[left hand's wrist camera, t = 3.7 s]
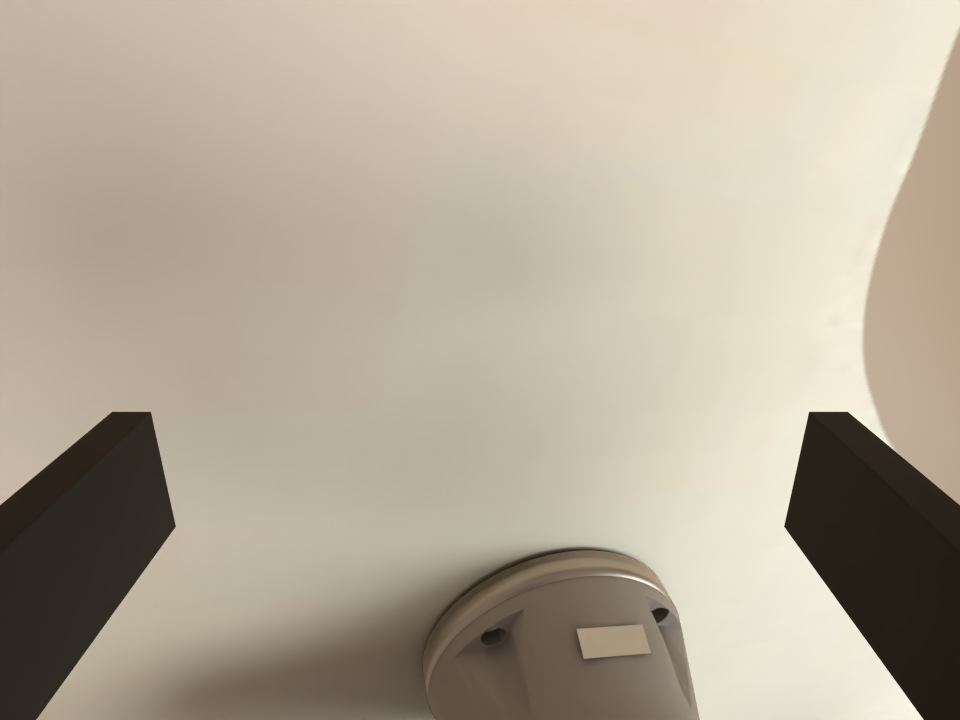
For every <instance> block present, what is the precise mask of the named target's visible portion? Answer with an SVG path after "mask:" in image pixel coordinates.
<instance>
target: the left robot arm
mask: <svg viewBox="0 0 960 720" xmlns="http://www.w3.org/2000/svg"><path fill="white" fill-rule="evenodd" d="M175 527H176V526H175V521H174V517H173V512H172V508H171V503H170V498H169V494H168V489H167V485H166V480H165V475H164V471H163V466H162V462H161V457H160V452H159V448H158V443H157V439H156V434H155V429H154V425H153V420H152V416H151V412H112V413H110V414H109V415H108V416H107V417H106V418H104V419H103V420H102V421H101V422H100V423H98V424H97V425H96V426H95V427H94V428H92V429H91V430H90V431H89V432H88V433H86V434H85V435H84V436H83V437H82V438H81V439H79V440H78V441H77V442H76V443H75V444H73V445H72V446H71V447H70V448H69V449H67V450H66V451H65V452H64V453H63V454H61V455H60V456H59V457H58V458H57V459H55V460H54V461H53V462H52V463H51V464H49V465H48V466H47V467H46V468H45V469H43V470H42V471H41V472H40V473H39V474H37V475H36V476H35V477H34V478H33V479H31V480H30V481H29V482H28V483H27V484H25V485H24V486H23V487H22V488H21V489H19V490H18V491H17V492H16V493H15V494H13V495H12V496H11V497H10V498H9V499H7V500H6V501H5V502H4V503H3V504H1V505H0V720H36V719H37V718H38V716H39V715H40V714H41V712H42V711H43V710H44V708H45V707H46V705H47V704H48V703H49V701H50V700H51V698H52V697H53V696H54V694H55V693H56V692H57V690H58V689H59V687H60V686H61V685H62V683H63V682H64V680H65V679H66V678H67V676H68V675H69V674H70V672H71V671H72V669H73V668H74V667H75V665H76V664H77V662H78V661H79V660H80V658H81V657H82V656H83V654H84V653H85V651H86V650H87V649H88V647H89V646H90V644H91V643H92V642H93V640H94V639H95V638H96V636H97V635H98V633H99V632H100V631H101V629H102V628H103V626H104V625H105V624H106V622H107V621H108V620H109V618H110V617H111V615H112V614H113V613H114V611H115V610H116V609H117V607H118V606H119V604H120V603H121V602H122V600H123V599H124V597H125V596H126V595H127V593H128V592H129V591H130V589H131V588H132V586H133V585H134V584H135V582H136V581H137V579H138V578H139V577H140V575H141V574H142V573H143V571H144V570H145V568H146V567H147V566H148V564H149V563H150V561H151V560H152V559H153V557H154V556H155V555H156V553H157V552H158V550H159V549H160V548H161V546H162V545H163V543H164V542H165V541H166V539H167V538H168V537H169V535H170V534H171V532H172V531H173V530H174V528H175ZM784 527H785V528H786V530H787V531H788V532H789V534H790V535H791V537H792V538H793V539H794V541H795V542H796V543H797V545H798V546H799V548H800V549H801V550H802V552H803V553H804V555H805V556H806V557H807V559H808V560H809V561H810V563H811V564H812V566H813V567H814V568H815V570H816V571H817V573H818V574H819V575H820V577H821V578H822V579H823V581H824V582H825V584H826V585H827V586H828V588H829V589H830V591H831V592H832V593H833V595H834V596H835V597H836V599H837V600H838V602H839V603H840V604H841V606H842V607H843V609H844V610H845V611H846V613H847V614H848V615H849V617H850V618H851V620H852V621H853V622H854V624H855V625H856V626H857V628H858V629H859V631H860V632H861V633H862V635H863V636H864V638H865V639H866V640H867V642H868V643H869V644H870V646H871V647H872V649H873V650H874V651H875V653H876V654H877V656H878V657H879V658H880V660H881V661H882V662H883V664H884V665H885V667H886V668H887V669H888V671H889V672H890V674H891V675H892V676H893V678H894V679H895V680H896V682H897V683H898V685H899V686H900V687H901V689H902V690H903V692H904V693H905V694H906V696H907V697H908V698H909V700H910V701H911V703H912V704H913V705H914V707H915V708H916V710H917V711H918V712H919V714H920V715H921V716H922V718H923V719H924V720H960V505H959V504H957V503H956V502H955V501H954V500H953V499H951V498H950V497H949V496H948V495H947V494H945V493H944V492H943V491H942V490H941V489H939V488H938V487H937V486H936V485H935V484H933V483H932V482H931V481H930V480H929V479H927V478H926V477H925V476H924V475H923V474H921V473H920V472H919V471H918V470H917V469H915V468H914V467H913V466H912V465H911V464H909V463H908V462H907V461H906V460H905V459H903V458H902V457H901V456H900V455H899V454H897V453H896V452H895V451H894V450H893V449H891V448H890V447H889V446H888V445H887V444H885V443H884V442H883V441H882V440H881V439H879V438H878V437H877V436H876V435H875V434H874V433H872V432H871V431H870V430H869V429H868V428H866V427H865V426H864V425H863V424H862V423H860V422H859V421H858V420H857V419H856V418H854V417H853V416H852V415H851V414H850V413H848V412H809V416H808V420H807V425H806V429H805V434H804V439H803V443H802V448H801V452H800V457H799V462H798V466H797V471H796V475H795V480H794V485H793V489H792V494H791V498H790V503H789V508H788V512H787V517H786V521H785V526H784ZM423 673H424V680H425V686H426V692H427V699H428V703H429V706H430V709H431V711H432V713H433V715H434V717H435V719H436V720H700V719H699V714H698V709H697V704H696V699H695V694H694V689H693V684H692V679H691V674H690V669H689V664H688V659H687V654H686V649H685V644H684V639H683V634H682V629H681V624H680V620H679V616H678V612H677V610H676V608H675V606H674V604H673V602H672V600H671V599H670V597H669V595H668V593H667V592H666V590H665V588H664V586H663V585H662V583H661V581H660V580H659V578H658V577H657V576H656V575H655V573H654V572H653V571H652V570H651V569H649V568H648V567H647V566H646V565H644V564H642V563H641V562H639V561H637V560H635V559H632V558H630V557H627V556H624V555H621V554H617V553H612V552H605V551H591V550H583V551H569V552H562V553H556V554H551V555H546V556H542V557H539V558H535V559H532V560H529V561H526V562H523V563H520V564H517V565H515V566H513V567H510V568H508V569H506V570H504V571H502V572H499V573H497V574H495V575H494V576H492V577H490V578H488V579H487V580H485V581H483V582H482V583H480V584H479V585H477V586H476V587H474V588H473V589H471V590H470V591H469V592H467V593H466V594H465V595H464V596H462V597H461V598H460V599H459V600H458V601H457V602H456V603H454V604H453V605H452V606H451V607H450V608H449V610H448V611H447V612H446V613H445V614H444V615H443V616H442V618H441V619H440V620H439V622H438V623H437V624H436V626H435V628H434V629H433V631H432V632H431V635H430V637H429V639H428V641H427V644H426V647H425V650H424V655H423Z"/></svg>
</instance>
